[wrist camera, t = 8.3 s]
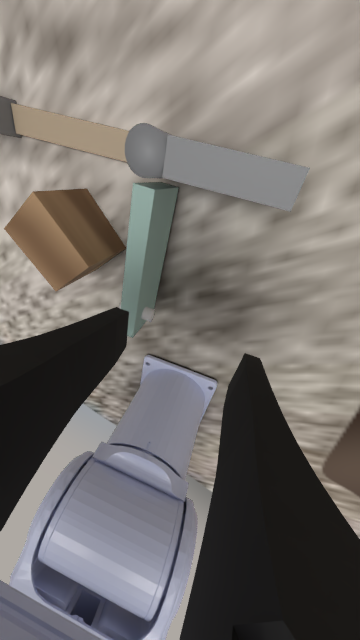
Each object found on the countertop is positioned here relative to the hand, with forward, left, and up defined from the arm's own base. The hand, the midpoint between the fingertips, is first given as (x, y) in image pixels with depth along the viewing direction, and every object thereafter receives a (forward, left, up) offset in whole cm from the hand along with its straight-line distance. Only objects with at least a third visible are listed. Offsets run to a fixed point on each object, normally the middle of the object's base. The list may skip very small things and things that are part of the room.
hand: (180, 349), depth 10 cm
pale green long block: (0, +5, -9) cm, 10 cm away
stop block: (0, +11, -10) cm, 14 cm away
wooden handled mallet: (+6, +8, -9) cm, 14 cm away
